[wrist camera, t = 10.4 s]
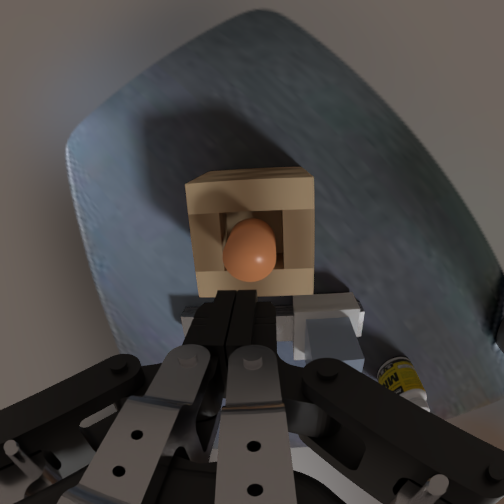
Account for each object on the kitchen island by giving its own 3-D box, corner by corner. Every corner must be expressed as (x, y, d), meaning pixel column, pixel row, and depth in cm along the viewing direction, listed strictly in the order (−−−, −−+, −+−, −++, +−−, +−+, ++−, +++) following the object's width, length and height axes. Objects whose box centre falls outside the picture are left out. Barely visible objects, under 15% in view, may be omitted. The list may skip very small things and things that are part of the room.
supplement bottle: (386, 353, 32) (408, 404, 24) (416, 356, 32) (441, 403, 24) (370, 382, 34) (386, 432, 26) (400, 384, 34) (419, 431, 26)
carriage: (352, 292, 29) (378, 349, 20) (347, 337, 31) (366, 398, 22) (292, 295, 30) (299, 355, 21) (292, 340, 32) (297, 404, 23)
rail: (359, 301, 30) (364, 311, 28) (356, 325, 31) (361, 336, 29) (185, 306, 31) (180, 316, 29) (190, 330, 32) (185, 341, 30)
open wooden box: (301, 166, 26) (313, 177, 18) (302, 253, 28) (313, 294, 21) (209, 171, 26) (184, 184, 19) (217, 256, 29) (199, 297, 21)
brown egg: (274, 217, 19) (275, 230, 16) (276, 261, 20) (276, 281, 18) (227, 219, 20) (220, 233, 17) (231, 262, 21) (225, 282, 18)
